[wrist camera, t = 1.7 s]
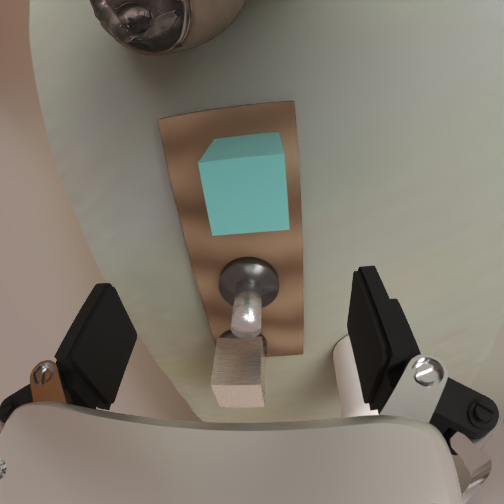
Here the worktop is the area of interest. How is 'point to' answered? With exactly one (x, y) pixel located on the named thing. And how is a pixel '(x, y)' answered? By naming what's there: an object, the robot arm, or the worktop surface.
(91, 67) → the worktop surface
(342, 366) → the pill bottle
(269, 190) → the matte teal square block
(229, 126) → the board
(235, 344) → the pale wooden cube
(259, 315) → the dark grey knobbed dome
